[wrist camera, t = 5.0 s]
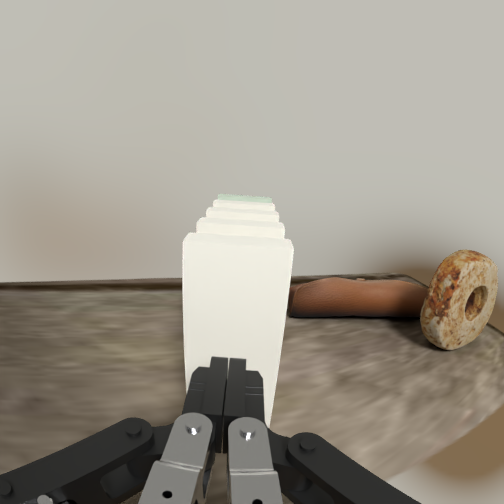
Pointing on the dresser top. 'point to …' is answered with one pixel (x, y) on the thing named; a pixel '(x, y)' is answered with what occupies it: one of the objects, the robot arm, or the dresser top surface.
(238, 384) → the robot arm
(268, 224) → the domino
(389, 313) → the sunglasses case
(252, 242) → the domino
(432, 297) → the stone disc
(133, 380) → the dresser top surface
